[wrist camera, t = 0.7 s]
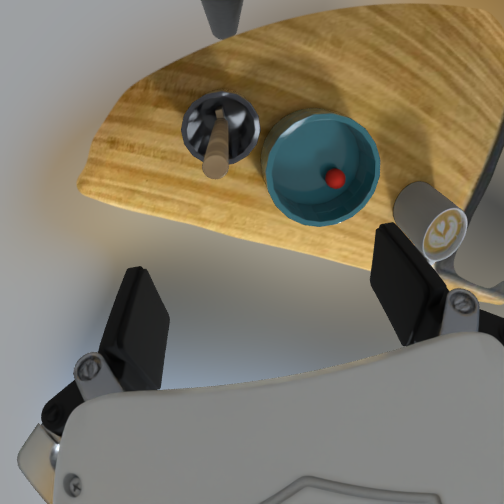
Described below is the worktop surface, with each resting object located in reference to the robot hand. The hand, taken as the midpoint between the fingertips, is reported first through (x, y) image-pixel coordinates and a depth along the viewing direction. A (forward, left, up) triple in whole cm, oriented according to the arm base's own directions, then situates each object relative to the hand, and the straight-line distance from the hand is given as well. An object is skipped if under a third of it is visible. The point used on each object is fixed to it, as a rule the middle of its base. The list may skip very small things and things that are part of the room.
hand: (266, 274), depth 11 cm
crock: (-2, -2, -31) cm, 31 cm away
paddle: (-2, -2, -30) cm, 30 cm away
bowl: (+6, +10, -31) cm, 33 cm away
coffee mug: (+18, +29, -31) cm, 46 cm away
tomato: (+8, +13, -28) cm, 32 cm away
